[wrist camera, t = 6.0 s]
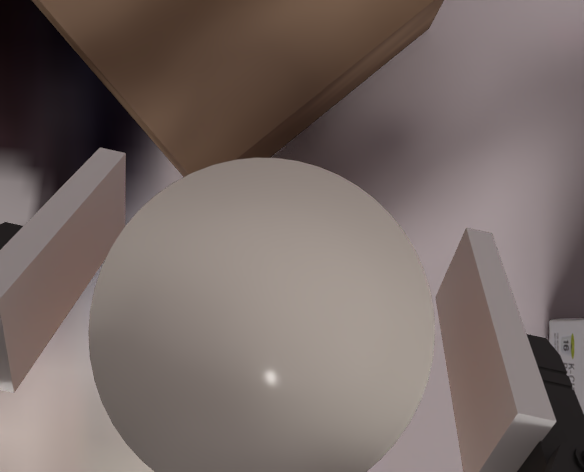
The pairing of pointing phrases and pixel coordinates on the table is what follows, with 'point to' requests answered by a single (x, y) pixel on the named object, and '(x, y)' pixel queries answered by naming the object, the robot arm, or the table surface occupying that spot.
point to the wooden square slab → (234, 64)
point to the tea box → (570, 350)
